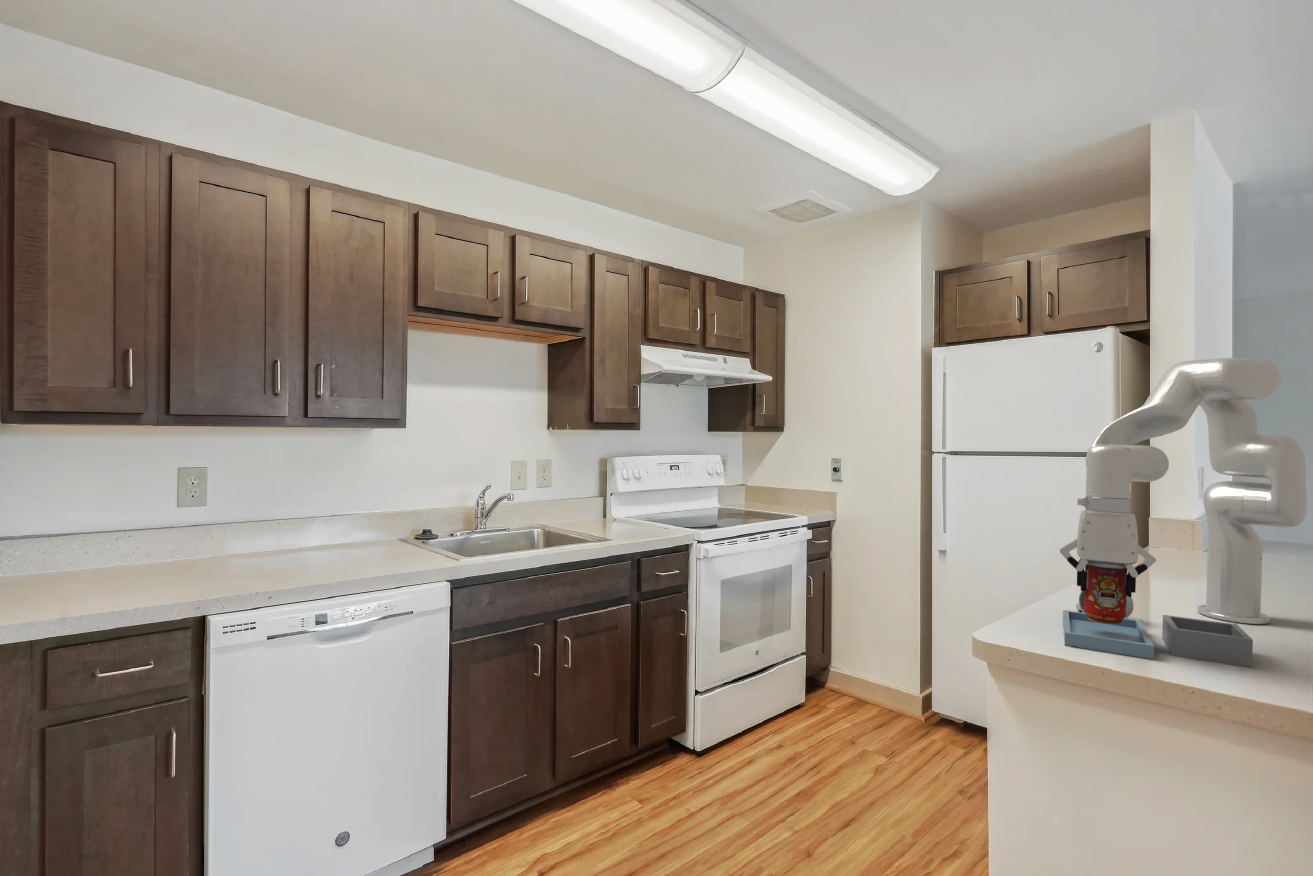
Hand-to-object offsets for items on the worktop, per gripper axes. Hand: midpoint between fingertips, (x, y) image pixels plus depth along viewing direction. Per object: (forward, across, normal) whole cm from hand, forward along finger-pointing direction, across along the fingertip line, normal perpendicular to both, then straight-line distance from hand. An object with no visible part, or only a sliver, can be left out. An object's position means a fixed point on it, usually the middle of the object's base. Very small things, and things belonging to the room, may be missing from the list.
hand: (1105, 592), depth 132 cm
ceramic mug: (+10, 0, +19) cm, 21 cm away
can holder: (+9, +16, +1) cm, 19 cm away
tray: (+9, 0, 0) cm, 9 cm away
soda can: (+6, 0, 0) cm, 6 cm away
